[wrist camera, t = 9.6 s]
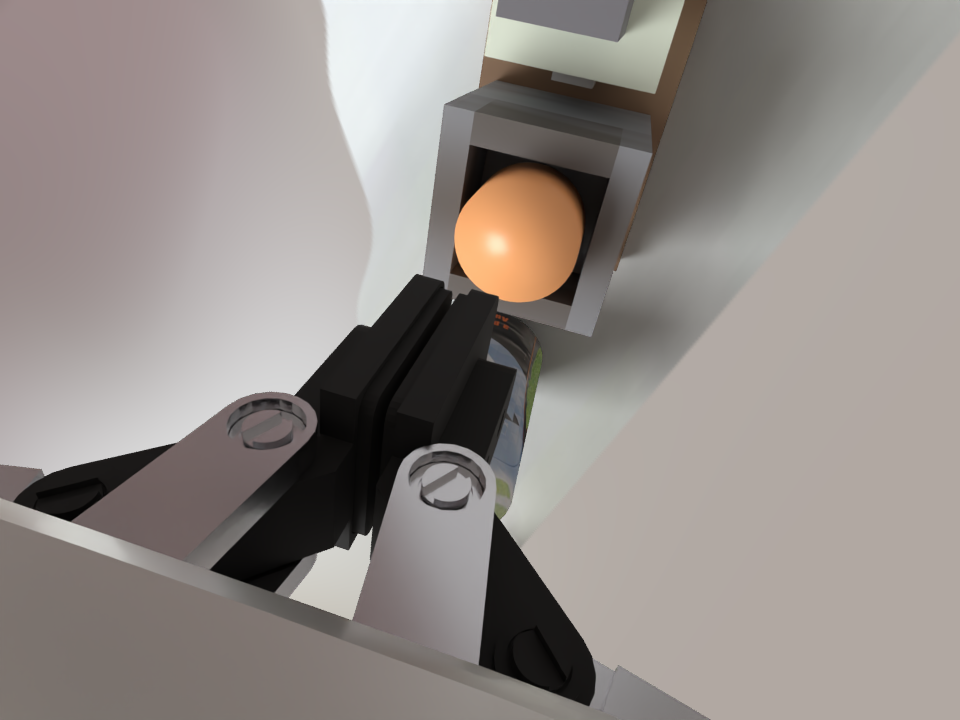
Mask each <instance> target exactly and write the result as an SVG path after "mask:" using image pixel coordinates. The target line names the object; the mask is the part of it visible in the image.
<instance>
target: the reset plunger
mask: <svg viewBox="0 0 960 720" xmlns="http://www.w3.org/2000/svg"><path fill="white" fill-rule="evenodd" d="M585 222H586V218H585V209H584V205H583V202H582V199H581V196H580V194H579V192H578V191H577V189H576V188H575V186H574V185H573V184H572V182H571V181H570V180H569V179H568V178H567V177H565V176H564V175H563V174H562V173H560V172H559V171H557V170H556V169H554V168H551V167H549V166H546V165H543V164H539V163H531V162H524V163H517V164H513V165H510V166H507V167H505V168H503V169H501V170H499V171H497V172H496V173H495V174H494V175H492V176H491V177H490V178H489V179H488V180H487V181H486V182H485V183H484V184H483V186H482V187H481V188H480V189H479V190H478V191H477V192H476V193H475V194H474V195H473V196H472V197H471V198H470V200H469V201H468V202H467V203H466V204H465V206H464V207H463V209H462V211H461V213H460V214H459V217H458V220H457V223H456V227H455V236H454V240H455V249H456V254H457V257H458V260H459V263H460V265H461V267H462V269H463V270H464V272H465V274H466V275H467V276H468V277H469V279H470V280H471V281H472V282H473V283H474V284H475V285H476V286H477V287H478V288H480V289H481V290H482V291H484V292H486V293H489V294H493V295H496V296H499V299H501V300H505V301H509V302H530V301H535V300H538V299H541V298H544V297H546V296H548V295H550V294H551V293H553V292H555V291H556V290H557V289H558V288H560V287H561V286H562V285H563V284H564V283H565V281H566V280H567V279H568V277H569V276H570V274H571V272H572V271H573V269H574V266H575V263H576V260H577V257H578V253H579V249H580V246H581V242H582V239H583V235H584V230H585Z"/></svg>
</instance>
